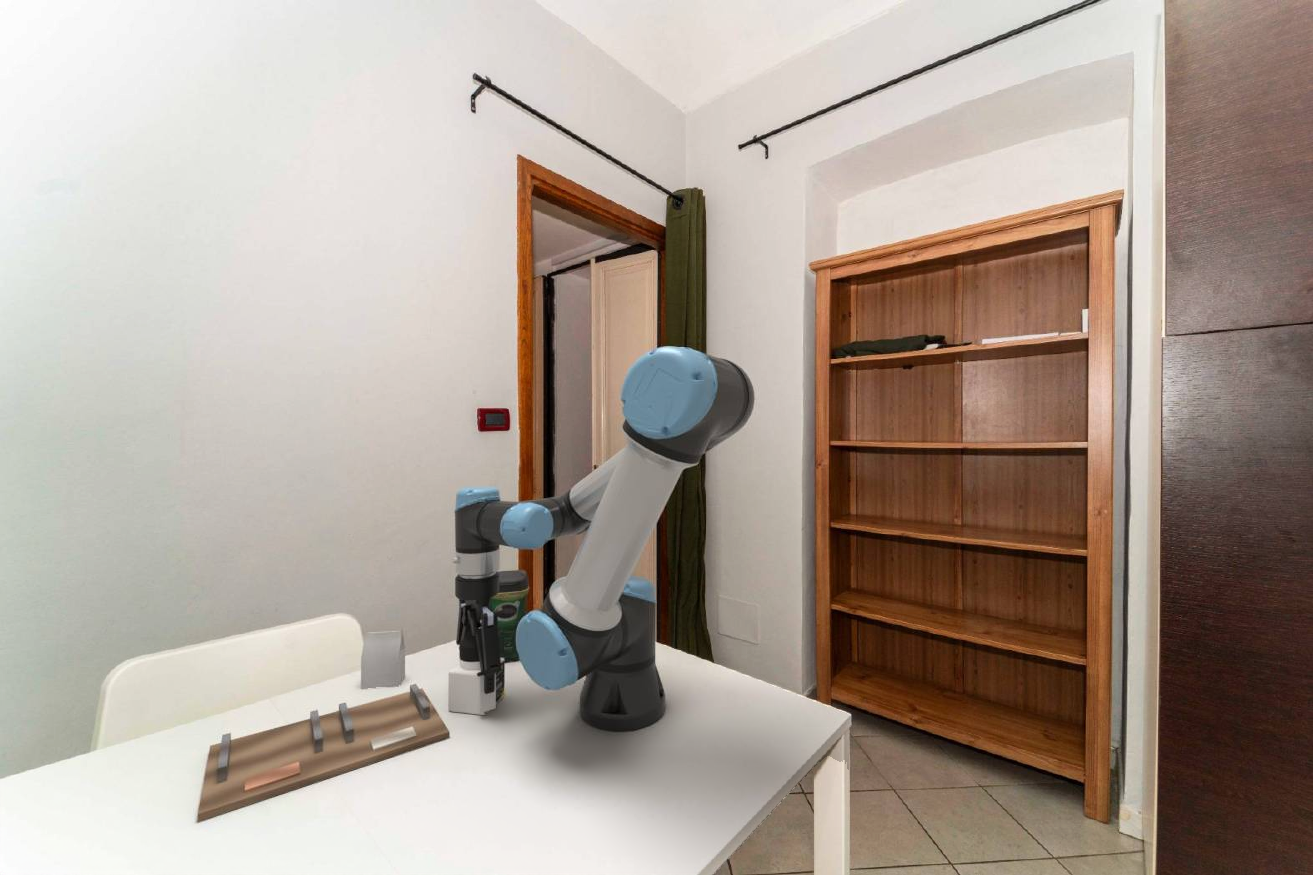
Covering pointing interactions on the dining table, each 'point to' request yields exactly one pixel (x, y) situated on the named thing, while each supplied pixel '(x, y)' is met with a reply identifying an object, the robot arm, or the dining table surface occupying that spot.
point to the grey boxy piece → (383, 659)
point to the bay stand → (315, 750)
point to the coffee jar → (510, 609)
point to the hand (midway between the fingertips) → (477, 697)
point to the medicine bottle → (470, 679)
